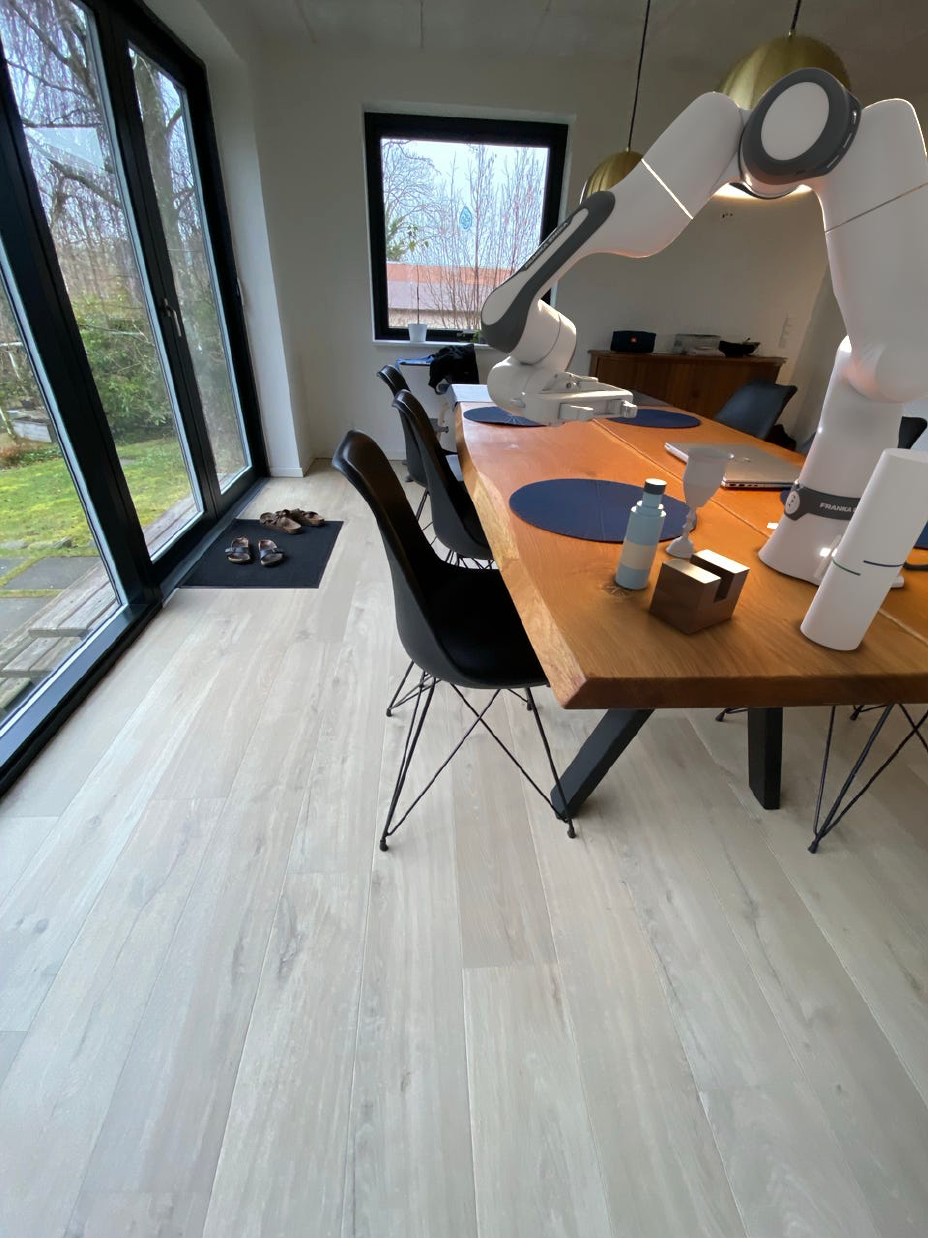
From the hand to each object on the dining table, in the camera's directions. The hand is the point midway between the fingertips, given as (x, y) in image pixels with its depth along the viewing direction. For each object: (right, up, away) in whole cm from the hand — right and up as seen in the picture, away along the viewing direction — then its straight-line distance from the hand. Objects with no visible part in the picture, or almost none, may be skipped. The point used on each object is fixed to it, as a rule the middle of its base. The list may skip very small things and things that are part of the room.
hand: (612, 414), depth 79 cm
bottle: (+7, -26, 0) cm, 26 cm away
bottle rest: (+11, -31, -3) cm, 32 cm away
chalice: (+17, -19, +16) cm, 30 cm away
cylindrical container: (+29, -34, -6) cm, 45 cm away
